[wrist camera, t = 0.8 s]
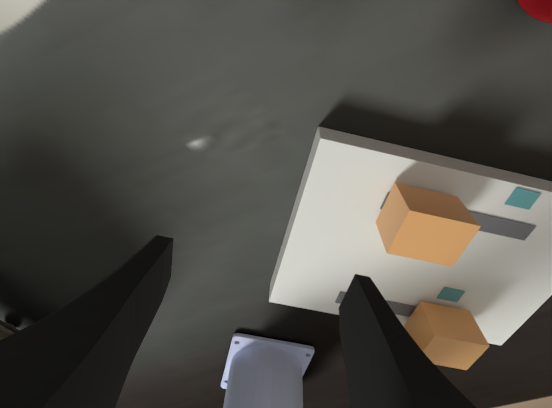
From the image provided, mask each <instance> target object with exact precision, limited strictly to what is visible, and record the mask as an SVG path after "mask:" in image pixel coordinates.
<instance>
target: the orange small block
mask: <svg viewBox="0 0 552 408" xmlns="http://www.w3.org/2000/svg"><path fill="white" fill-rule="evenodd" d="M376 225H377V228H378V231H379V233H380V236H381V239H382V242H383V245H384V247H385V250H386V253H388V254H393V255H397V256H402V257H407V258H412V259H417V260H422V261H426V262H431V263H436V264H441V265H446V266H451V267H453V265H454V264H455V263H456V261H457V260H458V258H459V257H460V256H461V254H462V253H463V251H464V250H465V248H466V247H467V246H468V244H469V243H470V241H471V240H472V239H473V237H474V236H475V234H476V233H477V231H478V230H479V229H480V227H481V225H480V224H479V223H478V222H477V220H476V219H475V218H474V217H473V215H472V214H471V213H470V212H469V210H468V209H467V208H466V207H465V205H464V204H463V203H462V202H461V200H460V199H459V198H458V197H457V196H453V195H448V194H444V193H439V192H435V191H431V190H426V189H422V188H417V187H413V186H409V185H404V184H400V183H394V185H393V187H392V189H391V191H390V193H389V195H388V197H387V199H386V201H385V203H384V206H383V208H382V210H381V212H380V214H379V216H378V218H377V220H376Z"/></svg>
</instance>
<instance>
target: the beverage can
mask: <svg viewBox="0 0 552 408" xmlns="http://www.w3.org/2000/svg"><path fill="white" fill-rule="evenodd" d="M518 2H519V4H520V6H521V7H522V8H523V9H524V10H525V11H526V12H527V13H528V14H529V15H530V16H532V17H534V18H535V19H537V20H540V21H543V22H547V23H552V0H518Z"/></svg>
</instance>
